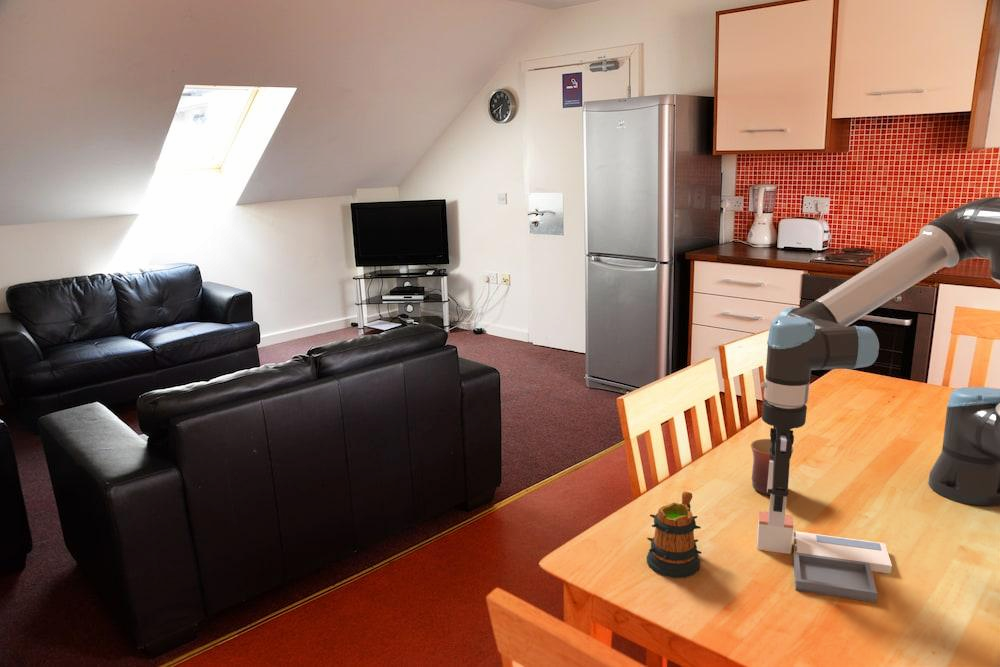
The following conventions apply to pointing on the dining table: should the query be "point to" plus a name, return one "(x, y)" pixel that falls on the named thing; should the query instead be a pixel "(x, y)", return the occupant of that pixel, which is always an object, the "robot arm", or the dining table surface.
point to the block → (774, 534)
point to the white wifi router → (844, 549)
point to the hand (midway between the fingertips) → (774, 508)
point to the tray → (834, 577)
